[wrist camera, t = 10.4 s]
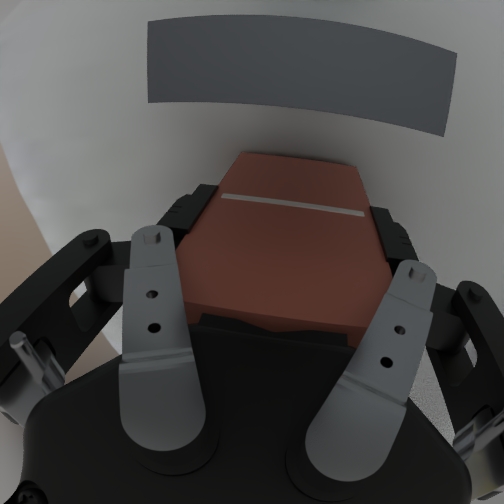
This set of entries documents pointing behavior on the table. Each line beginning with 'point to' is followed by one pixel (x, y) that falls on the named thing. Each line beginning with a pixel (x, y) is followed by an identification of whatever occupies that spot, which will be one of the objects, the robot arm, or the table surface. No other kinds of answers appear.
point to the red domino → (286, 249)
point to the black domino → (301, 67)
